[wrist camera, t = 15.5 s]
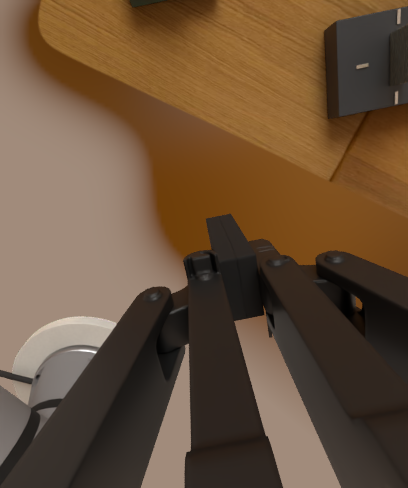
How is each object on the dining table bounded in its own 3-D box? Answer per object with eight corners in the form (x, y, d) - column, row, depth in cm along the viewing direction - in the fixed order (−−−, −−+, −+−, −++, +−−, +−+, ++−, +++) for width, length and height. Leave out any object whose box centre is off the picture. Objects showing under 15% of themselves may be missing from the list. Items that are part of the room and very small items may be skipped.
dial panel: (327, 118, 39) (339, 116, 36) (324, 30, 35) (336, 20, 32) (432, 97, 39) (453, 93, 36) (438, 7, 35) (461, -6, 32)
